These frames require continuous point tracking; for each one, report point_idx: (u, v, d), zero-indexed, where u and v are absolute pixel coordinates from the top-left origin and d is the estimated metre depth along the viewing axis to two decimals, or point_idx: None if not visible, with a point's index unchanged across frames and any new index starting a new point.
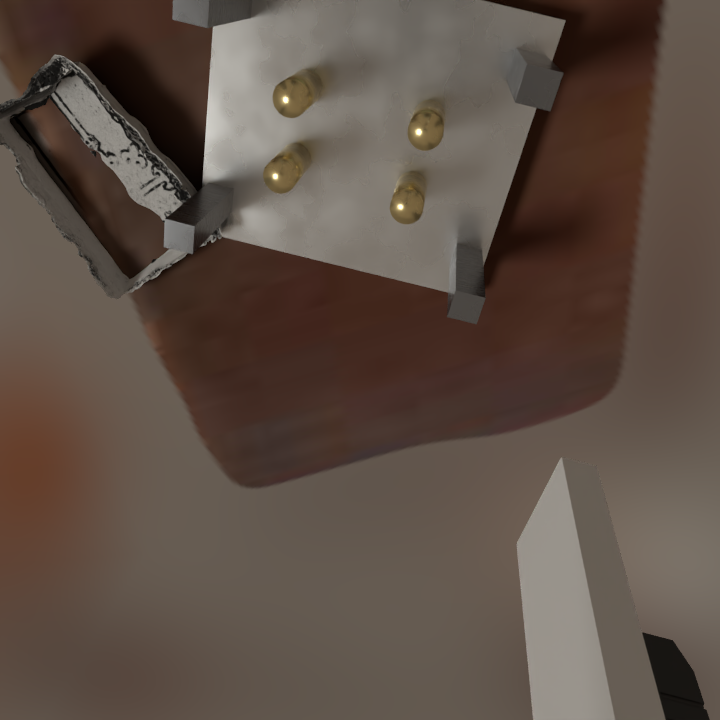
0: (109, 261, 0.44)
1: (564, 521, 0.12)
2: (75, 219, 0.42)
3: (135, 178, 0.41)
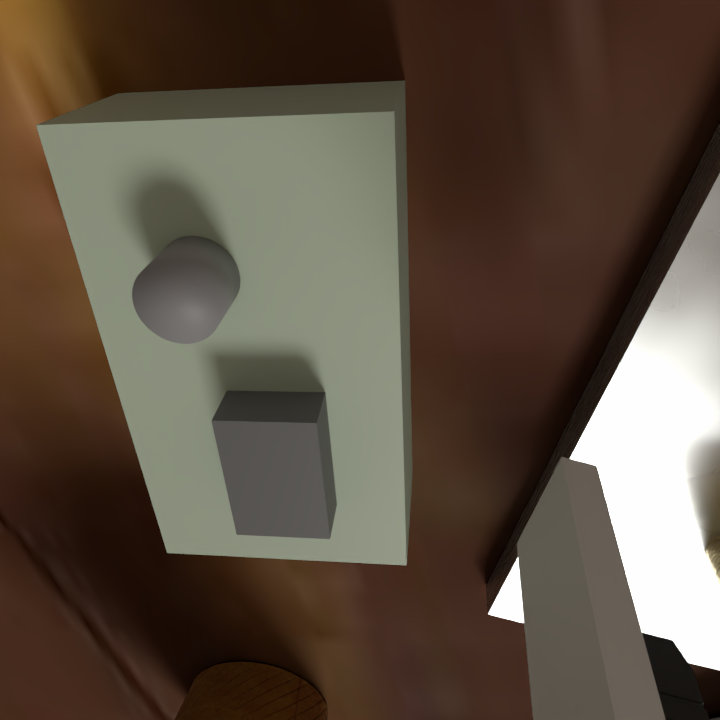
0: None
1: (564, 521, 0.12)
2: None
3: None
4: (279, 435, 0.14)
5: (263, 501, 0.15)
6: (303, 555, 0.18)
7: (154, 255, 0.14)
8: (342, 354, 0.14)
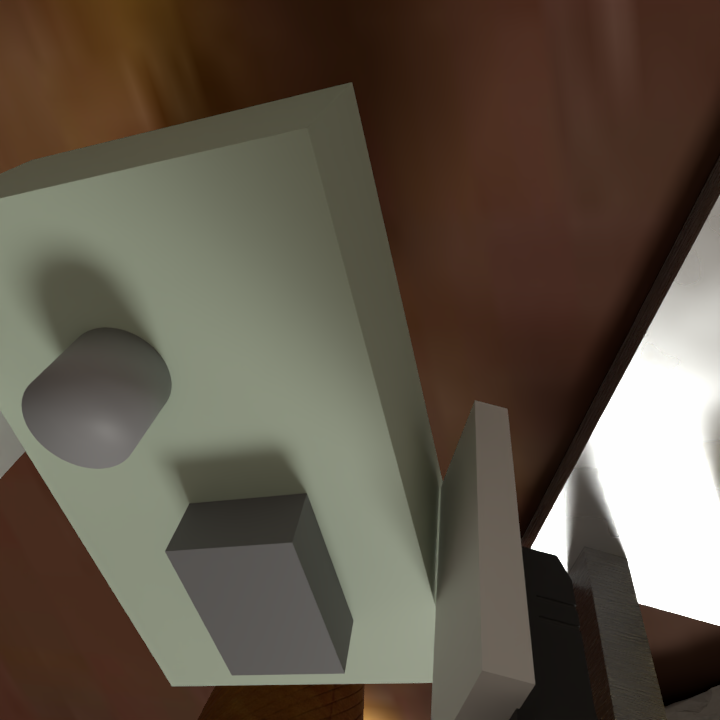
0: None
1: (470, 456, 0.13)
2: None
3: None
4: (250, 561, 0.11)
5: (252, 637, 0.12)
6: (327, 679, 0.15)
7: None
8: (316, 445, 0.11)
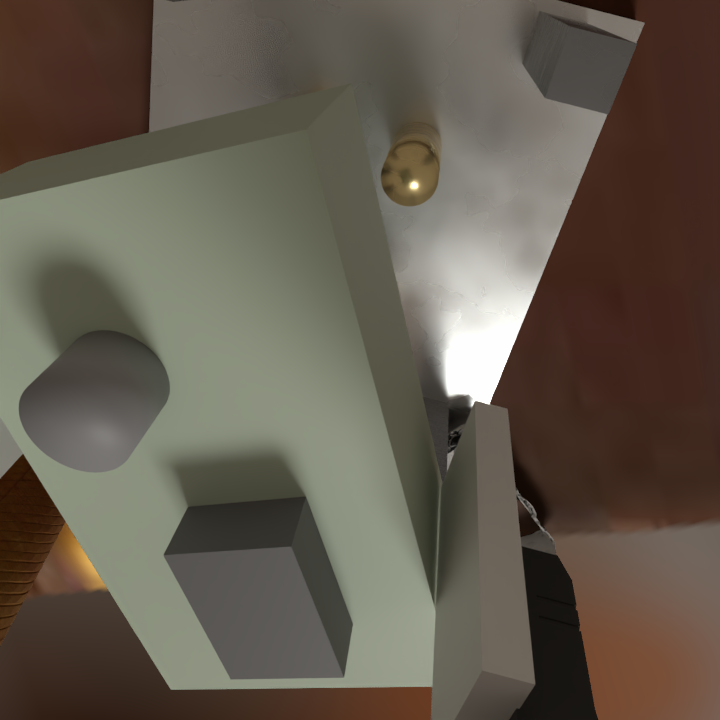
0: None
1: (470, 455, 0.13)
2: None
3: None
4: (249, 564, 0.11)
5: (251, 641, 0.12)
6: (327, 682, 0.15)
7: None
8: (315, 448, 0.11)
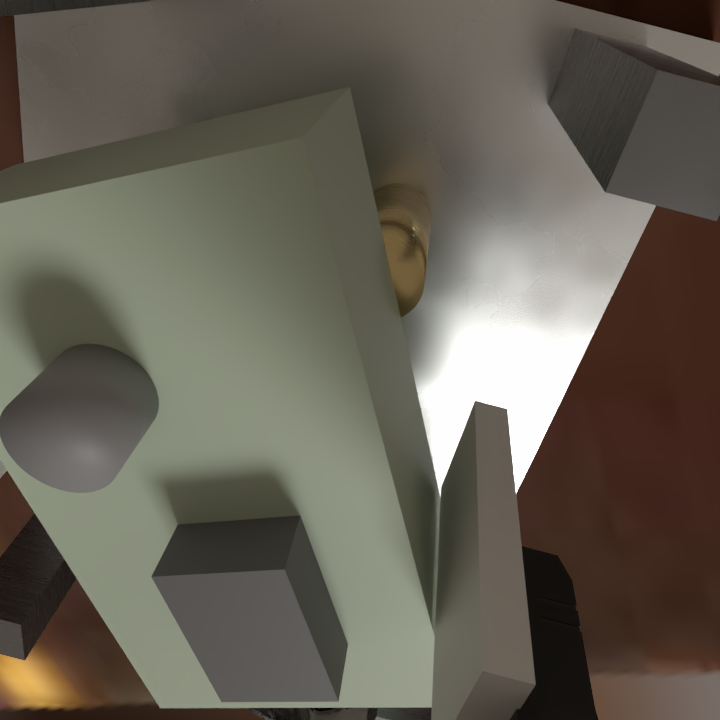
0: None
1: (470, 456, 0.13)
2: None
3: None
4: (241, 587, 0.11)
5: (243, 663, 0.12)
6: (321, 702, 0.14)
7: None
8: (310, 466, 0.11)
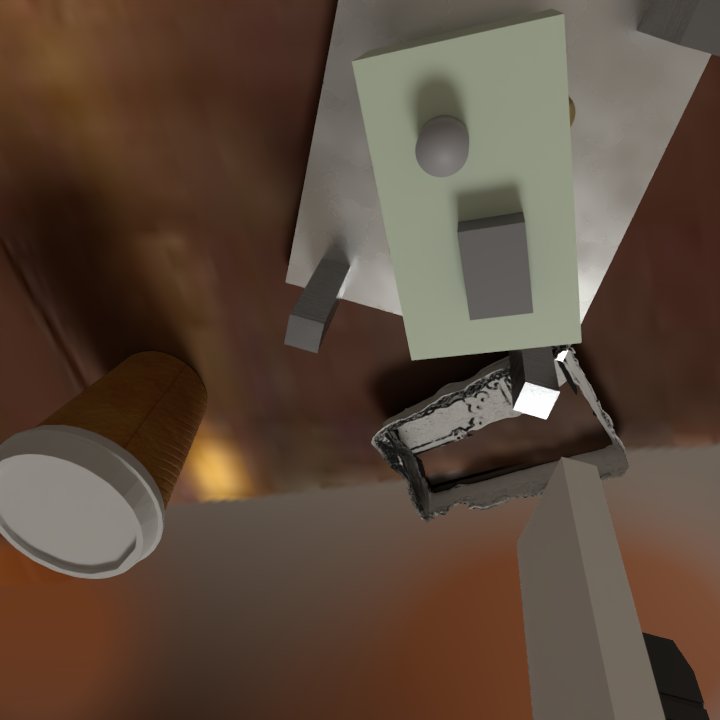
0: (586, 457, 0.39)
1: (564, 521, 0.12)
2: (533, 473, 0.40)
3: (498, 405, 0.39)
4: (500, 235, 0.23)
5: (488, 289, 0.24)
6: (507, 346, 0.27)
7: (416, 133, 0.23)
8: (534, 181, 0.23)
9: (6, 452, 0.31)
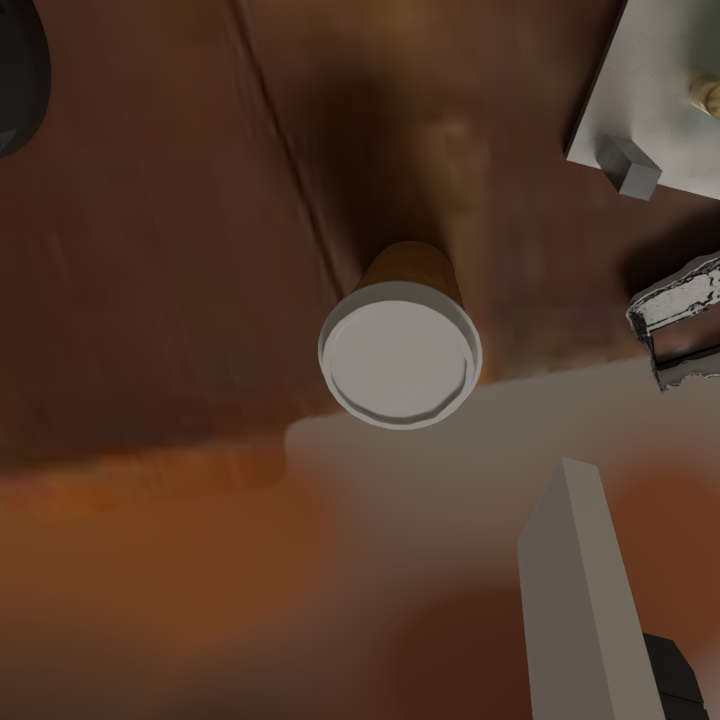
0: None
1: (563, 521, 0.12)
2: None
3: None
4: None
5: None
6: None
7: None
8: None
9: (354, 304, 0.35)
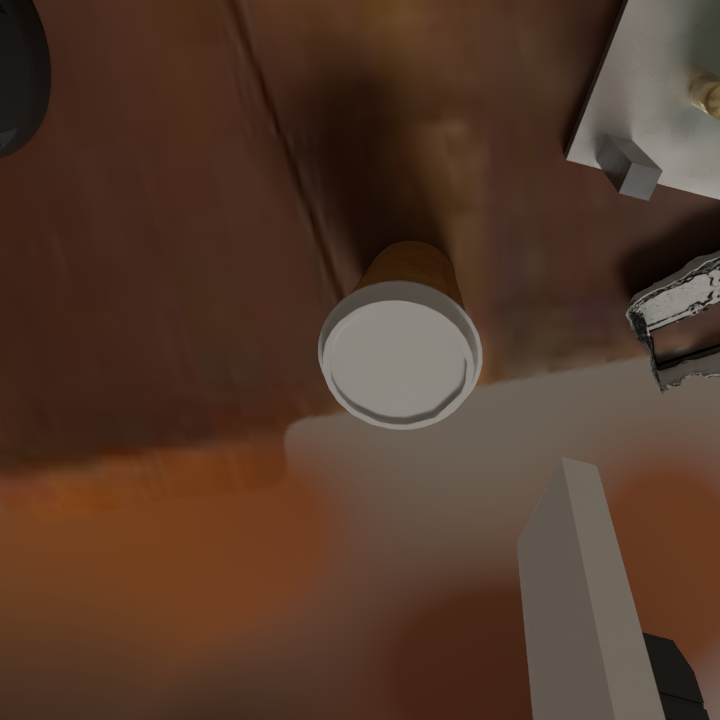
0: None
1: (564, 521, 0.12)
2: None
3: None
4: None
5: None
6: None
7: None
8: None
9: (354, 304, 0.35)
